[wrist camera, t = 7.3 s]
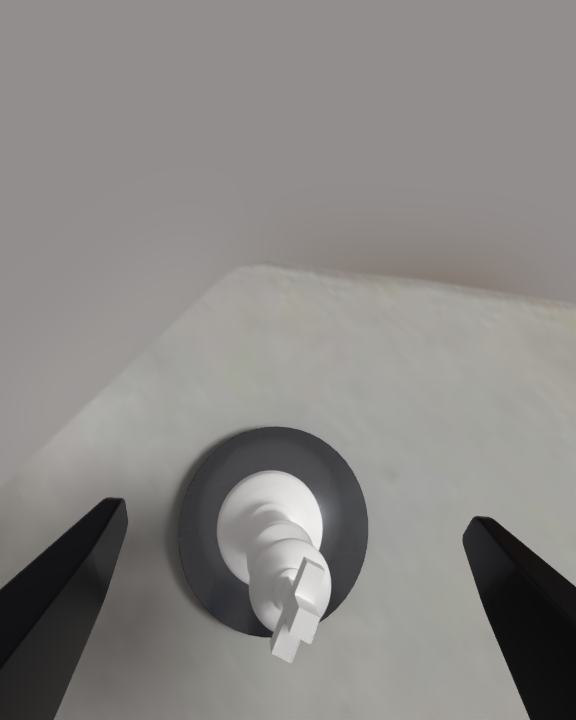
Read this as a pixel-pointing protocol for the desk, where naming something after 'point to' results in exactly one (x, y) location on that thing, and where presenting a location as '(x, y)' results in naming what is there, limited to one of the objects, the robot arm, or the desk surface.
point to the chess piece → (277, 555)
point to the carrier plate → (241, 460)
